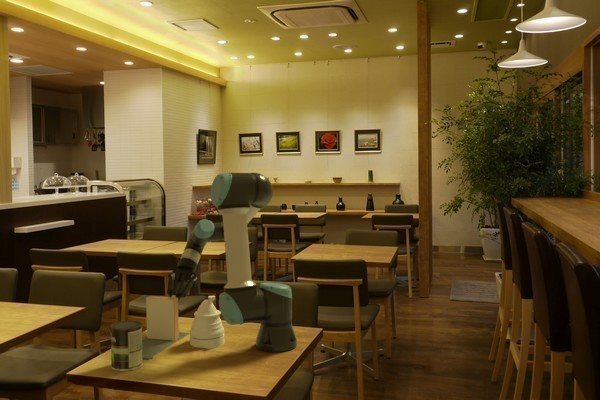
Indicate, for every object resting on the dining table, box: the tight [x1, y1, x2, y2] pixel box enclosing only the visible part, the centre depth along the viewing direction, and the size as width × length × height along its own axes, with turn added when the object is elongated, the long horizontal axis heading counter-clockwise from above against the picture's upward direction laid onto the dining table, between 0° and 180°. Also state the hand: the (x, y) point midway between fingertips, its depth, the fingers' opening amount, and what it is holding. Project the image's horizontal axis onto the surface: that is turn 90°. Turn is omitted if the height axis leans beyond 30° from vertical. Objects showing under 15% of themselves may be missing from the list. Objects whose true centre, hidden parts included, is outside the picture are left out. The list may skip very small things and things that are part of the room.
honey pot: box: [189, 295, 226, 350], centre depth 210 cm, size 13×13×18 cm
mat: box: [142, 331, 190, 360], centre depth 209 cm, size 30×14×1 cm, turn 164°
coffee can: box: [109, 320, 144, 372], centre depth 187 cm, size 10×10×14 cm
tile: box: [145, 295, 180, 341], centre depth 215 cm, size 3×12×16 cm, turn 73°
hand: (169, 311), depth 220 cm, fingers closed
